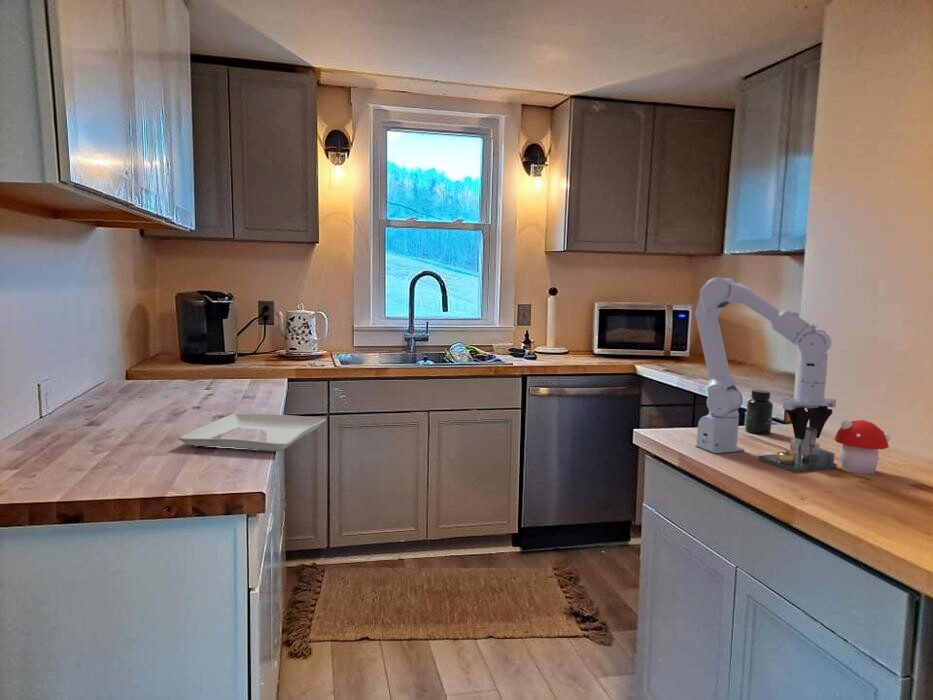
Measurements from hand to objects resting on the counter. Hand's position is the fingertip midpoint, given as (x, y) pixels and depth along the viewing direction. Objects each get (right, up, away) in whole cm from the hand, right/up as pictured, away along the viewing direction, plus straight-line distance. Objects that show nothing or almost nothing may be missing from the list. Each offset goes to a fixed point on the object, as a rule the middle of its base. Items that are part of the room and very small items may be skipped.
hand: (806, 437), depth 150 cm
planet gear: (0, -3, +1) cm, 3 cm away
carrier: (-2, -6, +1) cm, 7 cm away
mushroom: (+11, -7, -3) cm, 13 cm away
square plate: (-135, -2, +11) cm, 135 cm away
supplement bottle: (+3, -3, +33) cm, 33 cm away
